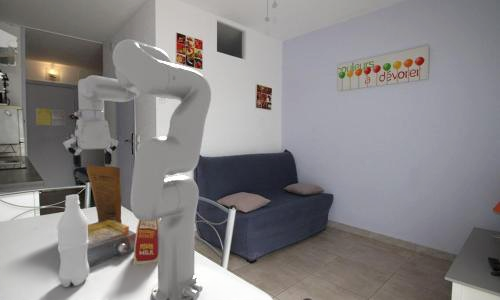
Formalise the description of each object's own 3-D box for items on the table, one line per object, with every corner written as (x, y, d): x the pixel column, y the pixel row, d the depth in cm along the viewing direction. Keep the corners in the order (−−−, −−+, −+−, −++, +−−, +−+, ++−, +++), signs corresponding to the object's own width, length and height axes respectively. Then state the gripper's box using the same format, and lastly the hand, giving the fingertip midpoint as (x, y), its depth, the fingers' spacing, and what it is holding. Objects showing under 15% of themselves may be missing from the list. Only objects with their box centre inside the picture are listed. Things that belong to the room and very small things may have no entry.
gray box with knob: (140, 251, 94) (140, 228, 94) (84, 273, 79) (84, 246, 79) (115, 238, 105) (114, 217, 104) (61, 255, 90) (60, 231, 89)
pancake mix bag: (114, 236, 107) (113, 168, 105) (86, 227, 116) (84, 164, 114) (129, 230, 113) (128, 166, 111) (101, 222, 122) (99, 162, 120)
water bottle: (78, 290, 71) (76, 199, 70) (52, 289, 72) (49, 198, 70) (94, 275, 79) (93, 193, 77) (71, 274, 79) (68, 192, 77)
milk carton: (133, 264, 85) (132, 203, 84) (137, 251, 94) (137, 196, 93) (163, 261, 88) (163, 202, 86) (164, 249, 97) (164, 195, 95)
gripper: (67, 114, 82) (69, 169, 83) (122, 117, 95) (123, 164, 96) (58, 115, 86) (60, 167, 87) (112, 117, 100) (113, 162, 101)
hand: (93, 165), depth 92 cm, fingers open, 9 cm apart
